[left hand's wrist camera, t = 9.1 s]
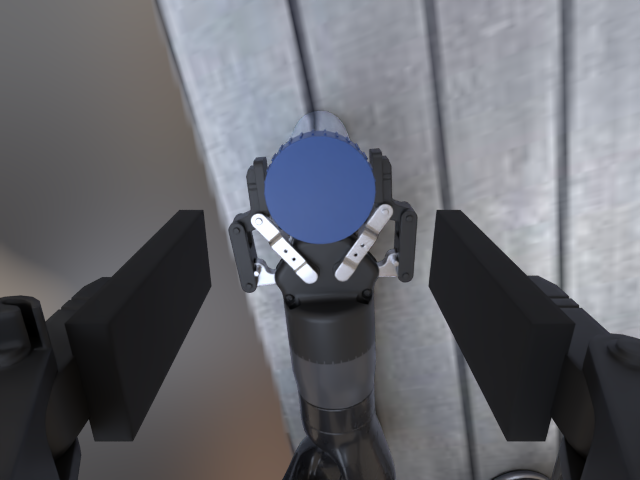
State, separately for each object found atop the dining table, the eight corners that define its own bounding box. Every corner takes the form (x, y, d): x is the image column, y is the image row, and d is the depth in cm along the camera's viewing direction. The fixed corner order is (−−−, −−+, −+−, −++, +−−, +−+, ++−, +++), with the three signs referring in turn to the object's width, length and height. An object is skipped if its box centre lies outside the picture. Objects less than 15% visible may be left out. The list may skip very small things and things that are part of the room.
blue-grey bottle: (326, 98, 36) (332, 121, 20) (357, 144, 37) (385, 201, 21) (282, 131, 37) (252, 178, 21) (313, 175, 38) (308, 251, 22)
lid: (333, 106, 21) (335, 109, 19) (392, 194, 23) (398, 206, 21) (246, 169, 22) (239, 179, 20) (308, 249, 24) (307, 265, 22)
